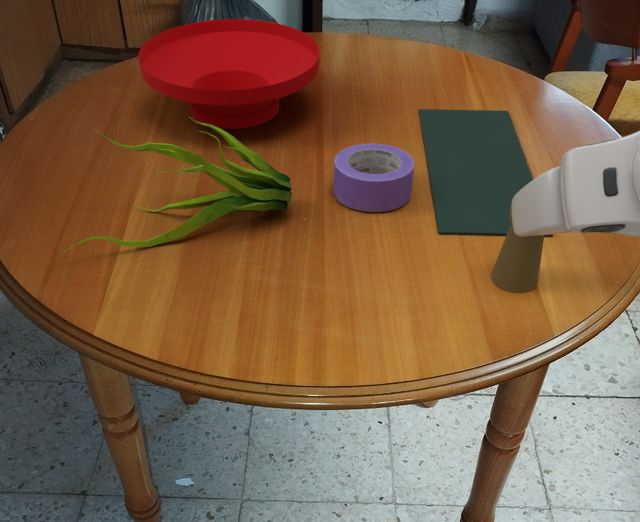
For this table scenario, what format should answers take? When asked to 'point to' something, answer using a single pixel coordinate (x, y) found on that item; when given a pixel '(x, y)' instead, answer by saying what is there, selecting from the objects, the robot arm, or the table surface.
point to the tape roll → (373, 177)
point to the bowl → (230, 68)
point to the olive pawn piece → (518, 261)
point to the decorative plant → (244, 185)
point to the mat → (473, 169)
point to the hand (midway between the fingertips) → (585, 224)
